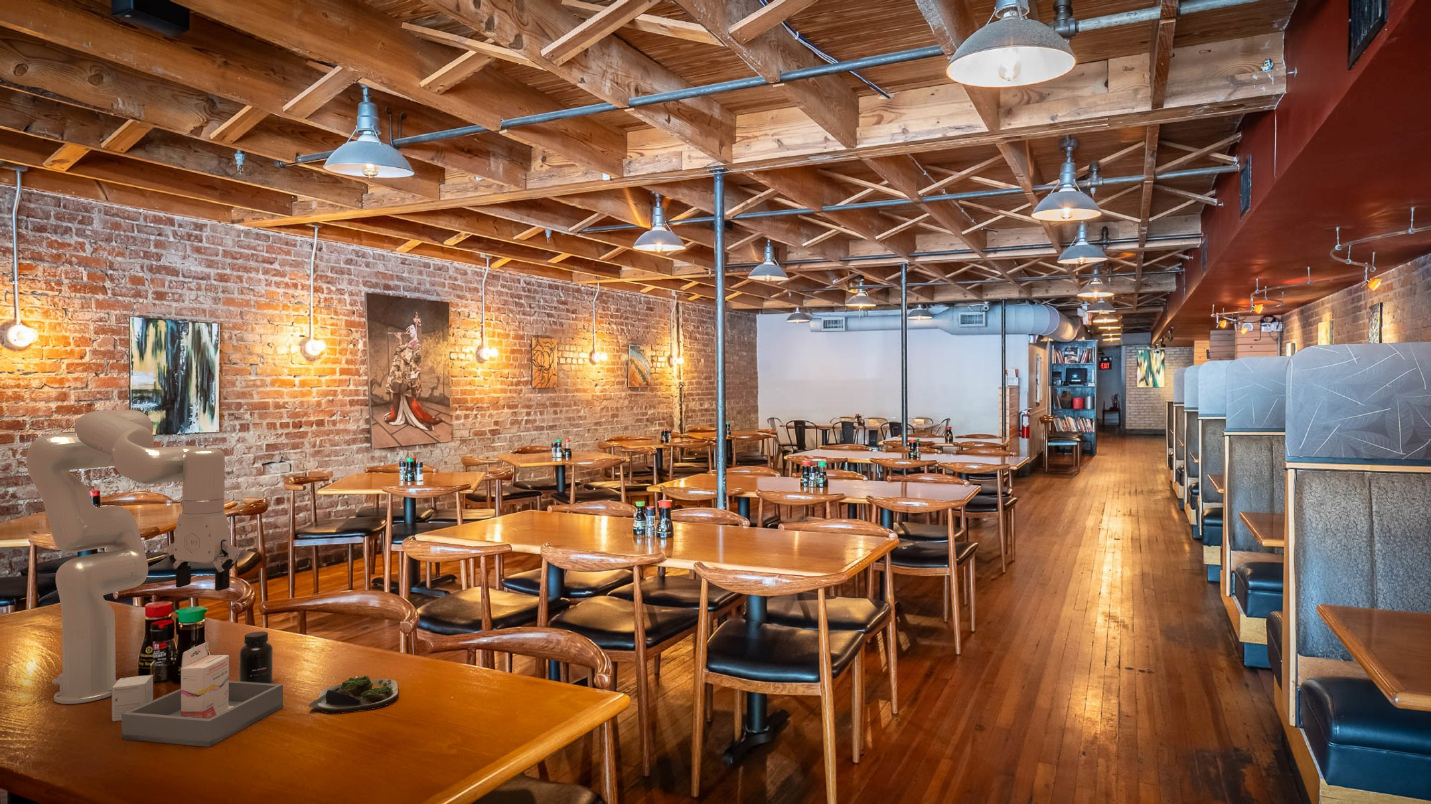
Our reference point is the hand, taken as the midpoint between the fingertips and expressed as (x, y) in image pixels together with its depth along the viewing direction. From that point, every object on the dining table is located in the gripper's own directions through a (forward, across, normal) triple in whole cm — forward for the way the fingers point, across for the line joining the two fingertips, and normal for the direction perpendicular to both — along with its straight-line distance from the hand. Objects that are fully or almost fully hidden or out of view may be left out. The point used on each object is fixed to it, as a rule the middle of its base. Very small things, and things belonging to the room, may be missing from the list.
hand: (202, 587), depth 171 cm
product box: (+28, -15, -2) cm, 32 cm away
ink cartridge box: (+26, +4, -3) cm, 27 cm away
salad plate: (+27, +27, +14) cm, 41 cm away
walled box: (+27, +4, -3) cm, 28 cm away
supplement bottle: (+28, -2, +18) cm, 33 cm away
